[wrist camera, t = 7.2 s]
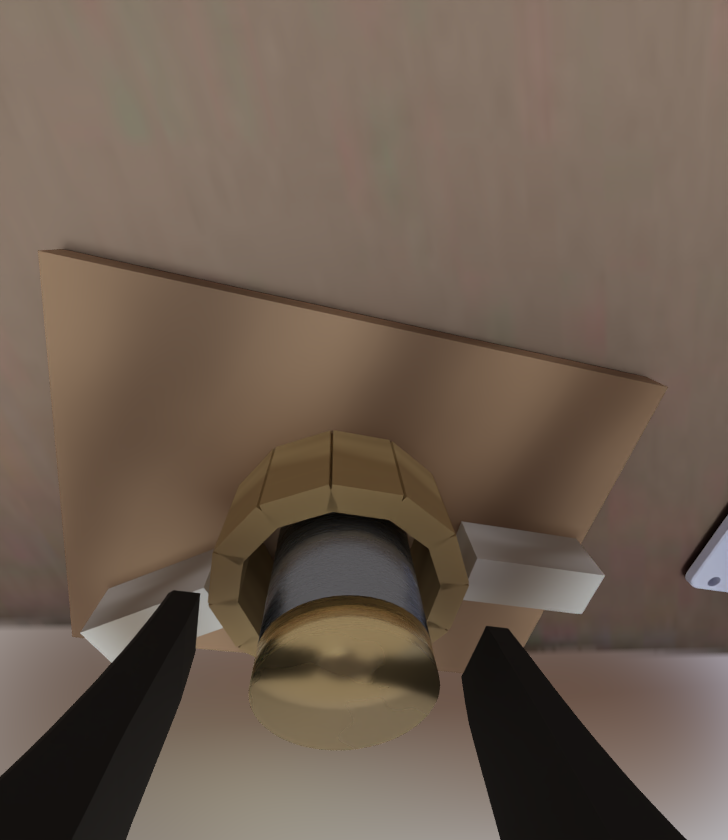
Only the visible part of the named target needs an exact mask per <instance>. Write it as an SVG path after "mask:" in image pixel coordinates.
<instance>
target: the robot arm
mask: <svg viewBox="0 0 728 840" xmlns="http://www.w3.org/2000/svg"><path fill="white" fill-rule="evenodd" d="M685 579H686V580H687V581H688V582H689V583H690V584H691V585H692V586H693V587H695V588H700V589H707V590H714V591H722V592H728V515H727V516H726V518H725V519H724V521H723V522H722V523H721V525H720V526H719V528H718V529H717V530H716V532H715V533H714V535H713V536H712V537H711V539H710V540H709V542H708V543H707V544H706V546H705V547H704V549H703V550H702V551H701V553H700V554H699V556H698V557H697V558H696V560H695V561H694V563H693V564H692V565H691V567H690V568H689V570H688V571H687V573H686V575H685ZM199 604H200V593H195V592H186V591H177V590H173V591H171V592H169V593H168V594H167V596H166V597H165V598H164V600H163V601H162V603H161V604H160V605H159V607H158V608H157V609H156V610H155V612H154V613H153V614H152V616H151V617H150V618H149V619H148V621H147V622H146V623H145V624H144V626H143V627H142V628H141V629H140V631H139V632H138V633H137V634H136V635H135V637H134V638H133V639H132V640H131V641H130V643H129V644H128V645H127V646H126V647H125V648H124V650H123V651H122V652H121V653H120V654H119V655H118V656H117V657H116V659H115V660H114V661H113V662H112V663H111V664H110V665H109V666H108V668H107V669H106V670H105V671H104V672H103V673H102V674H101V676H100V677H99V678H98V679H97V680H96V681H95V682H94V683H93V684H92V685H91V687H90V688H89V689H88V690H87V691H86V692H85V693H84V694H83V695H82V696H81V697H80V698H79V699H78V700H77V701H76V702H75V703H74V704H73V706H71V707H70V708H69V710H67V712H66V713H65V714H64V715H63V716H62V717H61V718H60V719H59V720H58V721H57V722H56V723H55V724H54V725H53V726H52V727H51V728H50V729H49V730H48V731H47V732H46V733H45V734H44V735H43V736H42V737H41V738H40V739H39V740H38V741H37V742H36V743H35V744H34V745H33V746H32V747H31V748H30V749H29V750H28V751H27V752H26V753H25V754H24V755H23V756H22V757H21V758H19V760H18V761H16V762H15V763H14V764H13V765H12V766H11V767H10V768H9V769H8V770H7V771H6V772H5V773H4V774H3V775H1V777H0V840H126V838H127V835H128V832H129V829H130V827H131V824H132V822H133V819H134V816H135V814H136V811H137V809H138V807H139V804H140V802H141V799H142V796H143V794H144V792H145V789H146V787H147V784H148V782H149V779H150V777H151V774H152V772H153V769H154V767H155V764H156V762H157V759H158V757H159V754H160V751H161V749H162V747H163V744H164V741H165V739H166V737H167V734H168V731H169V729H170V726H171V724H172V721H173V719H174V716H175V714H176V711H177V709H178V706H179V704H180V701H181V698H182V695H183V691H184V688H185V685H186V682H187V678H188V675H189V672H190V668H191V665H192V661H193V658H194V655H195V650H196V639H197V627H198V615H199ZM462 684H463V691H464V698H465V704H466V710H467V715H468V721H469V725H470V729H471V733H472V737H473V740H474V744H475V748H476V752H477V755H478V759H479V763H480V767H481V770H482V774H483V777H484V781H485V785H486V788H487V792H488V796H489V799H490V803H491V807H492V810H493V814H494V817H495V820H496V825H497V828H498V832H499V836H500V839H501V840H686V839H685V838H684V837H683V836H682V835H681V834H680V832H679V831H678V830H677V829H675V827H674V826H673V825H672V824H671V823H670V822H669V821H668V820H667V819H666V818H665V817H664V816H663V815H662V814H661V812H660V811H658V809H657V808H656V807H655V806H654V805H653V804H652V803H651V802H650V801H649V800H648V799H647V798H646V797H645V795H644V794H643V793H642V792H641V791H640V790H639V789H638V788H637V787H636V786H635V785H634V783H633V782H632V781H631V780H630V779H629V778H628V777H627V776H626V774H625V773H624V772H623V771H622V770H621V769H620V768H619V766H618V765H617V764H616V763H615V762H614V761H613V759H612V758H611V757H610V756H609V755H608V754H607V752H606V751H605V750H604V749H603V748H602V747H601V745H600V744H599V743H598V742H597V741H596V740H595V738H594V737H593V736H592V735H591V733H590V732H589V731H588V730H587V729H586V727H585V726H584V725H583V724H582V723H581V721H580V720H579V719H578V718H577V716H576V715H575V714H574V713H573V711H572V710H571V709H570V707H569V706H568V705H567V704H566V703H565V701H564V700H563V699H562V697H561V696H560V695H559V694H558V692H557V691H556V690H555V688H554V687H553V686H552V685H551V683H550V682H549V681H548V679H547V678H546V677H545V675H544V674H543V673H542V672H541V670H540V669H539V668H538V666H537V665H536V664H535V662H534V661H533V660H532V658H531V657H530V656H529V654H528V653H527V652H526V651H525V649H524V648H523V647H522V645H521V644H520V643H519V641H518V640H517V639H516V638H515V636H514V635H513V634H512V633H511V631H510V630H509V629H508V628H502V627H493V626H486V627H485V629H484V631H483V634H482V636H481V638H480V640H479V642H478V644H477V646H476V648H475V650H474V652H473V654H472V656H471V658H470V660H469V662H468V664H467V666H466V668H465V670H464V673H463V675H462Z"/></svg>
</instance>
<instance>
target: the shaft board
mask: <svg viewBox="0 0 728 840" xmlns="http://www.w3.org/2000/svg"><path fill="white" fill-rule="evenodd" d="M38 256H39V268H40V279H41V290H42V301H43V312H44V324H45V335H46V346H47V357H48V368H49V379H50V391H51V402H52V413H53V424H54V435H55V447H56V458H57V469H58V480H59V491H60V503H61V514H62V525H63V536H64V547H65V559H66V570H67V581H68V592H69V603H70V615H71V626H72V637H79V638H86V639H87V640H88V641H89V642H90V643H91V644H92V645H93V646H94V647H95V648H96V649H98V650H99V651H100V652H101V653H102V654H103V655H104V656H105V657H106V658H107V659H108V660H109V661H110V662H111V663H112V662H113V661H114V660H115V659H116V657H117V656H118V655H119V654H120V653H121V652H122V651H123V650H124V648H125V647H126V646H127V645H128V644H129V643H130V641H131V640H132V639H133V638H134V637H135V635H136V634H137V633H138V632H139V631H140V629H141V628H142V627H143V626H144V624H145V623H146V622H147V621H148V619H149V618H150V617H151V616H152V614H153V613H154V612H155V610H156V609H157V608H158V607H159V605H160V604H161V603H162V601H163V600H164V598H165V597H166V596H167V594H168V593H169V592H171V591H173V590H177V591H186V592H195V593H200V604H199V615H198V627H197V639H196V648H197V649H208V650H220V651H230V652H242V653H248V654H250V655H252V656H254V657H255V655H256V650H257V645H258V640H259V635H260V630H261V624H262V619H263V614H264V609H265V604H266V599H267V594H268V588H269V583H270V578H271V573H272V568H273V563H274V558H275V552H276V547H277V542H278V537H279V532H280V527H282V526H286V525H289V524H293V523H296V522H300V521H303V520H306V519H310V518H313V517H317V516H320V515H323V514H327V513H330V512H338V513H345V514H352V515H359V516H365V517H372V518H379V519H386V520H390V521H392V522H393V523H394V524H396V525H397V526H398V527H400V528H401V529H402V530H404V531H405V532H406V534H407V538H408V543H409V547H410V552H411V556H412V560H413V565H414V569H415V574H416V578H417V582H418V587H419V591H420V595H421V600H422V604H423V609H424V613H425V617H426V622H427V626H428V631H429V635H430V639H431V644H432V648H433V652H434V657H435V661H436V666H437V670H438V671H446V672H457V673H464V670H465V668H466V666H467V664H468V662H469V660H470V658H471V656H472V654H473V652H474V650H475V648H476V646H477V644H478V642H479V640H480V638H481V636H482V634H483V631H484V629H485V627H486V626H493V627H502V628H508V629H509V630H510V631H511V633H512V634H513V635H514V636H515V638H516V639H517V640H518V641H519V643H520V644H521V645H522V647H524V646H525V644H526V642H527V640H528V638H529V637H530V635H531V633H532V631H533V629H534V628H535V626H536V624H537V622H538V620H539V619H540V617H541V615H542V613H543V611H544V610H551V611H559V612H567V613H576V614H582V613H583V611H584V609H585V608H586V606H587V604H588V603H589V601H590V600H591V598H592V596H593V595H594V593H595V591H596V590H597V588H598V586H599V585H600V583H601V581H602V580H603V578H604V577H605V575H604V574H603V572H602V571H601V570H600V569H599V567H598V566H597V565H596V563H595V562H594V561H593V560H592V558H591V557H590V556H589V554H588V553H587V552H586V551H585V549H584V548H583V547H582V545H581V543H582V541H583V539H584V538H585V536H586V534H587V532H588V530H589V529H590V527H591V525H592V523H593V521H594V520H595V518H596V516H597V514H598V512H599V511H600V509H601V507H602V505H603V503H604V502H605V500H606V498H607V496H608V494H609V493H610V491H611V489H612V487H613V485H614V484H615V482H616V480H617V478H618V476H619V475H620V473H621V471H622V469H623V467H624V466H625V464H626V462H627V460H628V458H629V457H630V455H631V453H632V451H633V449H634V448H635V446H636V444H637V442H638V440H639V439H640V437H641V435H642V433H643V431H644V430H645V428H646V426H647V424H648V422H649V421H650V419H651V417H652V415H653V413H654V412H655V410H656V408H657V406H658V404H659V403H660V401H661V399H662V397H663V395H664V394H665V392H666V390H667V388H668V387H666V386H664V385H662V384H660V383H658V382H656V381H654V380H651V379H649V378H647V377H644V376H639V375H635V374H630V373H626V372H621V371H617V370H612V369H607V368H603V367H598V366H594V365H589V364H585V363H580V362H575V361H571V360H566V359H562V358H557V357H553V356H548V355H544V354H539V353H534V352H530V351H525V350H521V349H516V348H512V347H507V346H502V345H498V344H493V343H489V342H484V341H480V340H475V339H470V338H466V337H461V336H457V335H452V334H448V333H443V332H439V331H434V330H429V329H425V328H420V327H416V326H411V325H407V324H402V323H397V322H393V321H388V320H384V319H379V318H375V317H370V316H365V315H361V314H356V313H352V312H347V311H343V310H338V309H333V308H329V307H324V306H320V305H315V304H311V303H306V302H302V301H297V300H292V299H288V298H283V297H279V296H274V295H270V294H265V293H260V292H256V291H251V290H247V289H242V288H238V287H233V286H228V285H224V284H219V283H215V282H210V281H206V280H201V279H197V278H192V277H187V276H183V275H178V274H174V273H169V272H165V271H160V270H155V269H151V268H146V267H142V266H137V265H133V264H128V263H123V262H119V261H114V260H110V259H105V258H101V257H96V256H92V255H87V254H82V253H78V252H73V251H69V250H64V249H57V250H41V251H38Z"/></svg>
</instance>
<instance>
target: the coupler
mask: <svg viewBox="0 0 728 840" xmlns="http://www.w3.org/2000/svg"><path fill="white" fill-rule="evenodd" d="M439 690H440V681H439V675H438V670H437V666H436V661H435V657H434V652H433V648H432V644H431V639H430V635H429V631H428V626H427V622H426V617H425V613H424V609H423V604H422V600H421V595H420V591H419V587H418V582H417V578H416V574H415V569H414V565H413V560H412V556H411V552H410V547H409V543H408V538H407V534H406V532H405V531H404V530H402V529H401V528H400V527H398V526H397V525H396V524H394V523H393V522H392V521H390V520H386V519H379V518H372V517H365V516H359V515H352V514H345V513H338V512H330V513H327V514H323V515H320V516H317V517H313V518H310V519H306V520H303V521H300V522H296V523H293V524H289V525H286V526H282V527H280V532H279V537H278V542H277V547H276V552H275V558H274V563H273V568H272V573H271V578H270V583H269V588H268V594H267V599H266V604H265V609H264V614H263V619H262V624H261V630H260V635H259V640H258V645H257V650H256V655H255V660H254V666H253V671H252V676H251V681H250V686H249V702H250V707H251V709H252V711H253V713H254V715H255V716H256V718H257V719H258V721H259V722H260V723H262V725H263V726H264V727H265V728H266V729H268V730H269V731H270V732H272V733H273V734H275V735H276V736H278V737H280V738H282V739H284V740H286V741H289V742H291V743H294V744H297V745H300V746H305V747H309V748H315V749H321V750H352V749H360V748H367V747H371V746H375V745H379V744H382V743H384V742H388V741H390V740H392V739H395V738H397V737H399V736H401V735H403V734H405V733H407V732H408V731H410V730H411V729H412V728H414V727H416V726H417V725H418V724H419V723H421V722H422V721H423V720H424V719H425V718H426V717H427V715H428V714H429V713H430V712H431V710H432V708H433V707H434V705H435V703H436V701H437V699H438V695H439Z"/></svg>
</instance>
